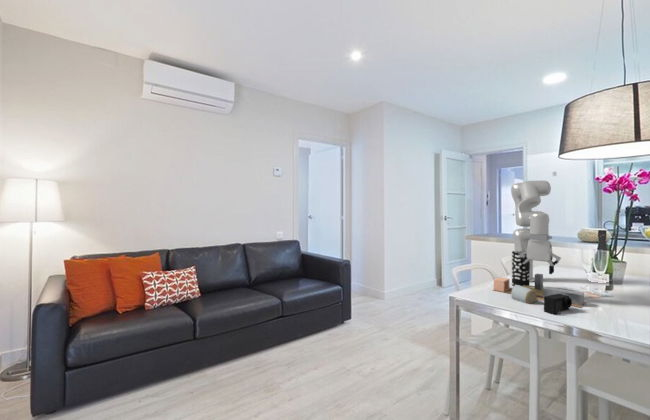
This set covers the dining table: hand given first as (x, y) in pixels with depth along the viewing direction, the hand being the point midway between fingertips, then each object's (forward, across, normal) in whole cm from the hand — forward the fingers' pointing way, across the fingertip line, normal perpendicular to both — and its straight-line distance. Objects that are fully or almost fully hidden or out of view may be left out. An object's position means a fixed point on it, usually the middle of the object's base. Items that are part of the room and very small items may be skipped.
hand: (539, 272), depth 151 cm
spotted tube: (+13, +13, -16) cm, 24 cm away
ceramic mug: (+14, +3, +10) cm, 18 cm away
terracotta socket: (+12, +17, -1) cm, 21 cm away
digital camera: (+14, -11, +15) cm, 23 cm away
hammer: (+11, -4, -1) cm, 12 cm away
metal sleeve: (+12, -9, -1) cm, 15 cm away
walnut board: (+13, +1, -1) cm, 13 cm away
